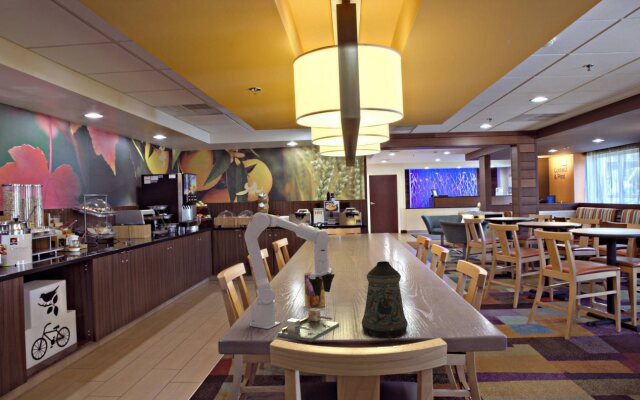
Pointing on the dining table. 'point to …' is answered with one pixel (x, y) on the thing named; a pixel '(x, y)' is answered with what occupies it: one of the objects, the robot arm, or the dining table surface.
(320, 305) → the candy box
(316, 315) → the slider
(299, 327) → the fixed leg
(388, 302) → the beer stein
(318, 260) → the robot arm
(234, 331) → the dining table surface
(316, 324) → the bolt plate
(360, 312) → the dining table surface
